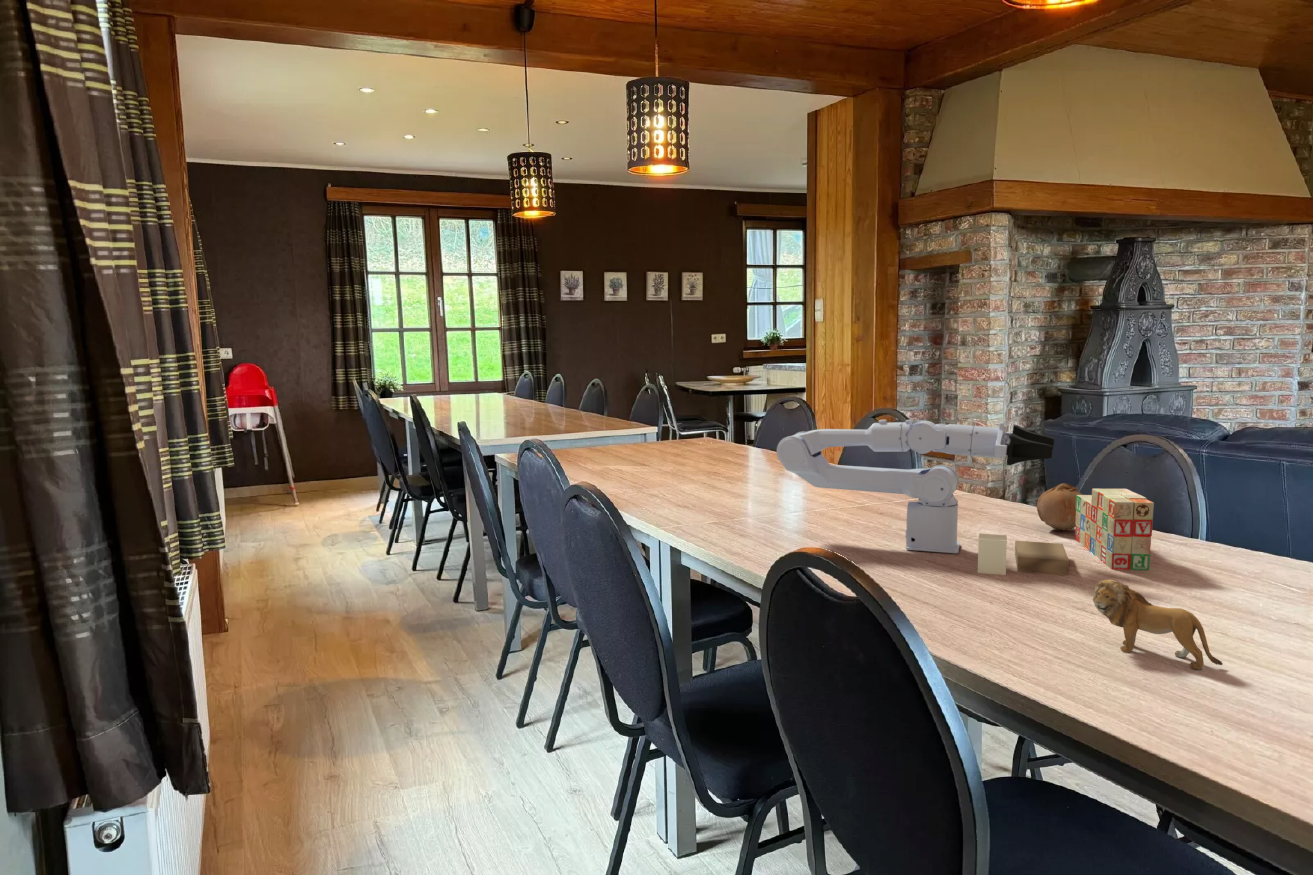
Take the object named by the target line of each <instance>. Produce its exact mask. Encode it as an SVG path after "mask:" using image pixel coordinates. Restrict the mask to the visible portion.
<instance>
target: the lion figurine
mask: <svg viewBox="0 0 1313 875" xmlns="http://www.w3.org/2000/svg"><path fill="white" fill-rule="evenodd" d="M1094 588H1095V589H1094V592H1093V597H1092V602H1093V603H1094V607H1095V609H1096V610H1097V611H1098V612H1099V613H1101V615H1103V616H1105V617H1106V618H1107V619H1108V620H1109V622H1110V624H1112V625H1113V626H1116V627H1119V628H1122V629H1123V635H1124V640H1123V641H1122V644H1123V645H1122V646H1120V648H1119V649H1120V651H1121V652H1123V653H1131V652H1132V651H1134V649H1135V643H1136V640H1137V633H1138V630H1141V631H1144V632H1146V633H1148V634H1149V633H1150V634H1154V635H1164V634H1165V635H1166V634H1168V633H1173V636H1174V637H1175V638H1176V640H1177V642H1178V643H1179V644H1180V645H1181V646H1182V647H1183V648H1182V650H1177V651H1175V652H1174V656H1175V657H1178V658H1187V656H1188V655H1189V654H1191V655H1192V656H1193V658H1194V659H1195V661H1191V662H1190V663H1189V665H1190V668H1192V669H1193V670H1202V668H1204V665H1205V664H1204V663H1205V662H1204V657H1203V656H1204V655H1203V651H1202V650H1201V648H1200V647H1199V646H1197V644H1196V642H1195V640H1194V635H1195V632H1196V630H1197V633H1198V635H1199V638H1200V642H1201V645H1202V648H1203V650H1204V652H1205V655H1206V657H1207V658H1208V659H1209V660H1210V662H1211V663H1213V664H1214V665H1218V666H1222V665H1223V663H1224V662H1222V660H1219V659H1218V658H1217V657H1214V656H1213V655H1212V653H1211V652H1210V649H1209V643H1208V642H1207V641H1208V640H1207V637H1206V632H1205V630H1204V628H1203V625H1202V624H1201V623H1202V622H1200V619H1198V618H1197V617H1196V616H1195V614H1194V613H1193V612H1190V611H1188V610H1186V609H1184V608H1175V607H1163V606H1158V605H1154V604H1152V603H1151V602H1149V601H1147V599H1146V598H1145V597H1144V596H1143V595H1142V594H1141V593H1140V592H1137V591H1135V589H1134V590H1133V589H1131V588H1130V587H1129V585H1127V584H1124V583H1122V582H1120V581H1119V580H1117V581H1116V580H1114V579H1104V580H1100V581H1099V582H1095V587H1094Z"/></svg>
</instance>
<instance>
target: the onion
mask: <svg viewBox="0 0 1313 875" xmlns="http://www.w3.org/2000/svg"><path fill="white" fill-rule="evenodd" d="M1076 495H1083V494H1082V493H1081V492H1080V491H1079V490H1078V487H1076V486H1072V485H1071V484H1068V483H1065V482H1063V483H1060V484H1058V485H1056V486H1054V487H1052V488H1049V489H1047V490H1046V491H1044V492H1043V493H1042V494H1040V496H1039V497H1038V500H1037V502H1036V511H1037V515H1038V517H1039V519H1040V521H1042V522H1044V523H1045V525H1047V526H1048V527H1050V528H1052V529H1053V530H1057V531H1061V530H1062V531H1070V530H1073V529H1075V528H1076ZM1062 531H1061V532H1062Z"/></svg>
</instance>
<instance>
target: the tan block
mask: <svg viewBox="0 0 1313 875" xmlns="http://www.w3.org/2000/svg"><path fill="white" fill-rule="evenodd" d="M1014 543H1015V544H1014V557H1015V565H1016V570H1017V572H1023V573H1036V574H1048V575H1049V574H1051V575H1060V576H1061V575H1062V576H1069V568H1070V565H1069V564H1070V560H1069V556H1068V555H1067V552H1066V549H1065V547H1064V544H1063V543H1056V542H1040V541H1026V540H1014Z"/></svg>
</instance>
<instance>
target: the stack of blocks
mask: <svg viewBox="0 0 1313 875" xmlns="http://www.w3.org/2000/svg"><path fill="white" fill-rule="evenodd" d="M1154 505H1155V503H1154V502H1153V501H1151V500H1149V499H1147V497H1145V496H1143V495H1142V494H1139V493H1136V492H1134V491H1132V490H1130V489H1128V488H1092V489H1091V494H1082V495H1076V527H1075V531H1074V533H1075V534H1074V536H1075V537H1074V538H1075V539H1076V540H1075V539H1074V540H1075V541H1077V543H1078V544H1080V543H1081V544H1082V545H1081V544H1080V545H1081V546H1082V547H1083V546H1084V548H1085V547H1086V548H1087V549H1088V550H1089V551H1088V550H1087V549H1086V548H1085V549H1086V550H1087V551H1088V552H1090V553H1091V552H1092V553H1093V554H1092V553H1091V554H1092V555H1094V556H1095V557H1096V556H1097V557H1098V558H1097V559H1098V560H1100V562H1102V561H1103V562H1102V563H1103V564H1105V566H1107V567H1108V568H1109V569H1110V570H1123V571H1125V570H1127V571H1130V570H1131V571H1150V565H1151V564H1150V563H1151V547H1152V546H1151V545H1152V537H1153V523H1154V520H1153V519H1154Z"/></svg>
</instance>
